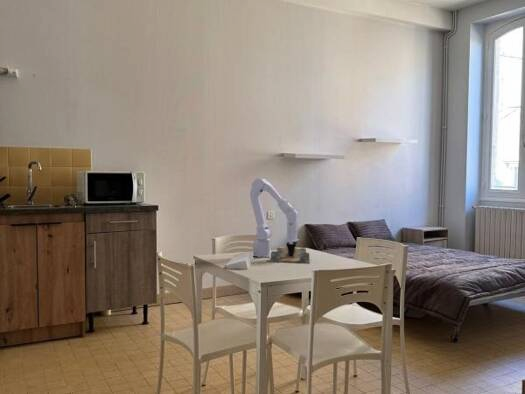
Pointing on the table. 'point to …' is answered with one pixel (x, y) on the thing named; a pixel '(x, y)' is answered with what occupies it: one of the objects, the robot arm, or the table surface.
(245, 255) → the decorative molding
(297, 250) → the slat
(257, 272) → the table surface
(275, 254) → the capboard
